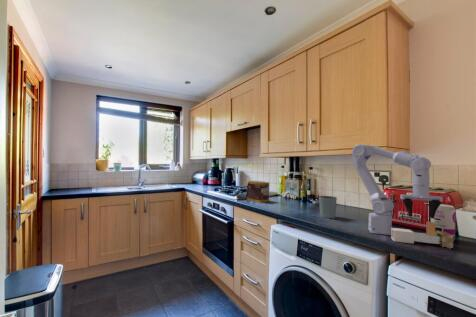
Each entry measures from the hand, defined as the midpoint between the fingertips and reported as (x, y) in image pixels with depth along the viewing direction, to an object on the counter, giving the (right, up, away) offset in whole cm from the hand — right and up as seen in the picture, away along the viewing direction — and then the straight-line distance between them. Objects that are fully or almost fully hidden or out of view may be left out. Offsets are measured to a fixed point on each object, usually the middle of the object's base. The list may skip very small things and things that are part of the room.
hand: (420, 217), depth 101 cm
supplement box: (-62, -10, +92) cm, 112 cm away
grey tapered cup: (-25, -10, +41) cm, 49 cm away
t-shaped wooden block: (0, -10, -2) cm, 11 cm away
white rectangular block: (-8, -10, 0) cm, 13 cm away
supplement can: (+13, -11, +4) cm, 17 cm away
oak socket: (+6, -11, -5) cm, 13 cm away
